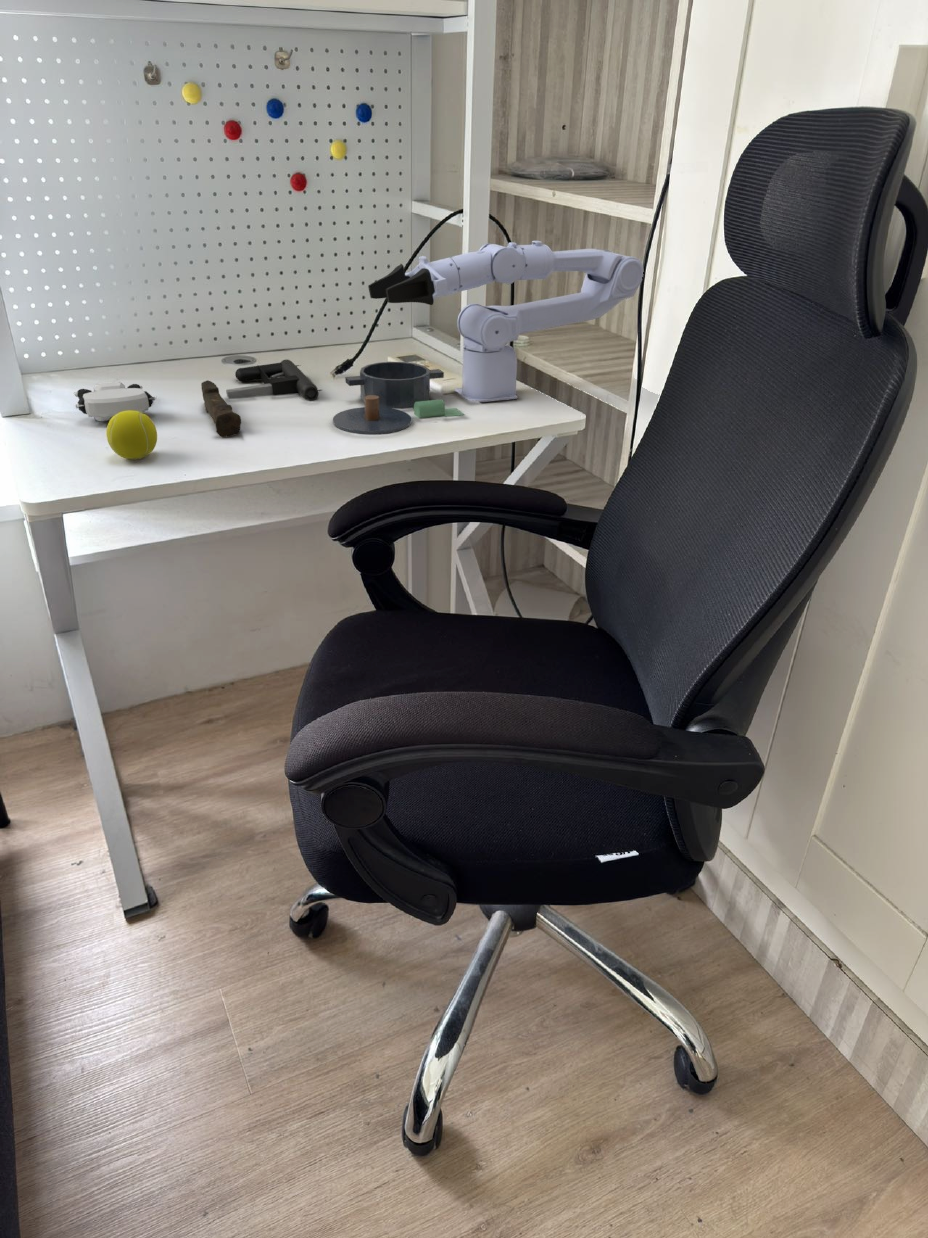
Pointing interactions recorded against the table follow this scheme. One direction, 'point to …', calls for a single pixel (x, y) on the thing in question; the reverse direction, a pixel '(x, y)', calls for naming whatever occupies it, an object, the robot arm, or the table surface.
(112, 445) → the tennis ball
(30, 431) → the table surface
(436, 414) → the green cylinder on base
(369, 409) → the pot lid
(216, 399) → the brown rough rod
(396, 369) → the pot
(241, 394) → the toy submachine gun
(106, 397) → the robot toy
